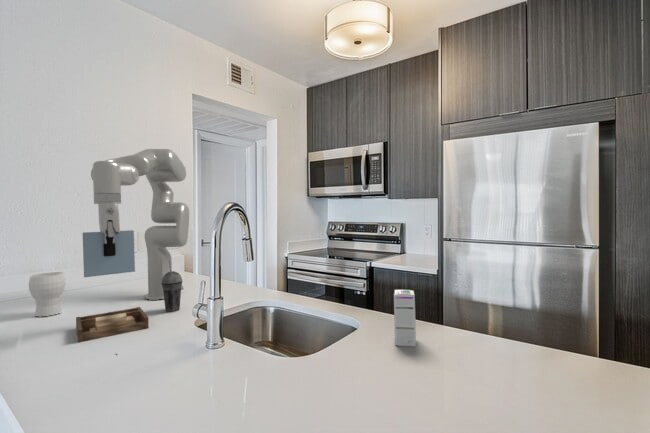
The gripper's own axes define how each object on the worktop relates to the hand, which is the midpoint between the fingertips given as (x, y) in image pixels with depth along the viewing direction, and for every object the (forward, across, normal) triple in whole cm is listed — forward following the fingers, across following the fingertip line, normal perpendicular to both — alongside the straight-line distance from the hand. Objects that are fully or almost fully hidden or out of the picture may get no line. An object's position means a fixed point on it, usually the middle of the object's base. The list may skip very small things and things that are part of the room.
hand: (109, 255), depth 110 cm
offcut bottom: (+23, -8, 0) cm, 24 cm away
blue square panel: (+6, 0, 0) cm, 6 cm away
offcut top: (+20, -8, +1) cm, 21 cm away
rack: (+24, -5, 0) cm, 24 cm away
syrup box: (+24, -70, -64) cm, 98 cm away
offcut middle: (+21, -8, 0) cm, 23 cm away
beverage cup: (+24, +3, -20) cm, 31 cm away
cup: (+24, +32, +17) cm, 44 cm away
